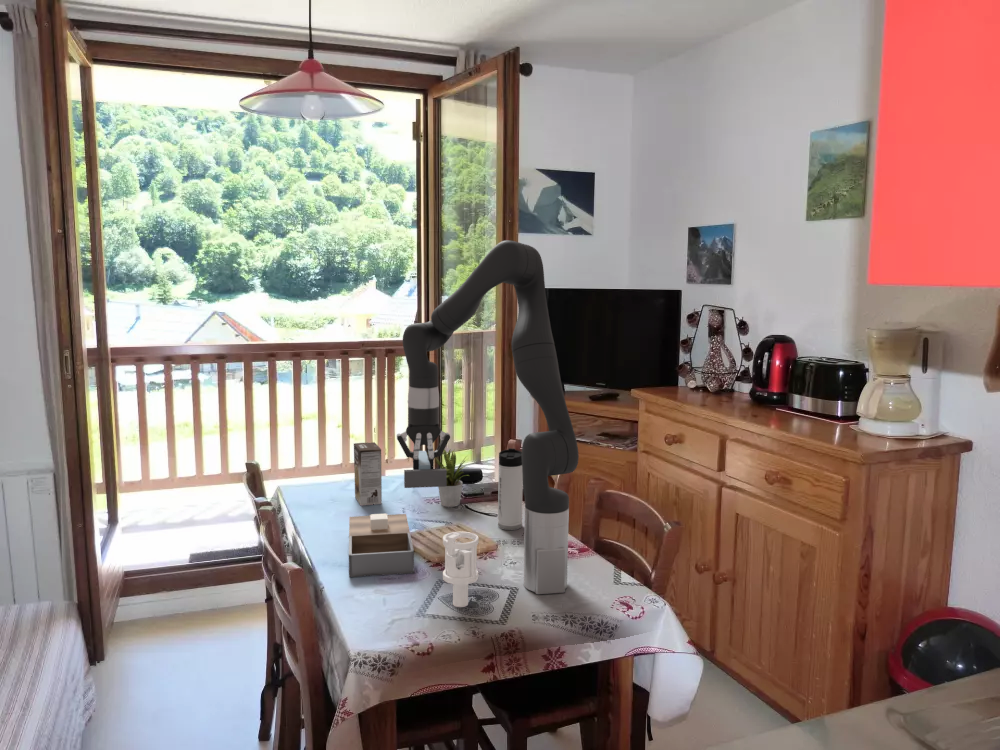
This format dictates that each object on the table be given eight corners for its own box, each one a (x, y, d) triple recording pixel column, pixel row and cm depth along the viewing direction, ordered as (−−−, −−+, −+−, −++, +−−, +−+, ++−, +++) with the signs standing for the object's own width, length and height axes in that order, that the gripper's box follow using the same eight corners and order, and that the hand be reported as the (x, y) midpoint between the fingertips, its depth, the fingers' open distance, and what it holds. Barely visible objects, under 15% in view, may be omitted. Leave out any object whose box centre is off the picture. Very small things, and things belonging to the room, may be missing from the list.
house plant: (414, 499, 222) (414, 444, 220) (458, 493, 228) (458, 439, 226) (433, 513, 210) (433, 455, 207) (479, 506, 216) (479, 450, 214)
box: (414, 573, 169) (413, 551, 168) (349, 577, 166) (348, 555, 166) (410, 553, 181) (410, 532, 180) (349, 556, 178) (349, 536, 177)
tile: (387, 528, 182) (387, 518, 182) (370, 529, 182) (370, 519, 181) (387, 523, 186) (386, 513, 186) (370, 524, 185) (370, 514, 185)
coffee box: (354, 497, 224) (353, 443, 222) (375, 495, 226) (375, 441, 224) (359, 506, 215) (358, 450, 213) (382, 504, 218) (381, 448, 215)
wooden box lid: (410, 553, 181) (410, 532, 180) (349, 556, 178) (349, 536, 177) (406, 533, 194) (406, 513, 193) (349, 536, 192) (349, 516, 191)
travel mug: (522, 522, 203) (523, 448, 200) (521, 530, 197) (522, 454, 194) (499, 521, 204) (500, 447, 201) (496, 529, 197) (497, 453, 194)
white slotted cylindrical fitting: (435, 605, 153) (435, 533, 151) (457, 593, 159) (457, 523, 157) (464, 614, 149) (464, 540, 147) (485, 601, 155) (485, 530, 153)
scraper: (446, 486, 184) (446, 466, 183) (404, 487, 183) (404, 467, 182) (440, 469, 199) (440, 450, 199) (401, 470, 198) (401, 451, 197)
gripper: (395, 407, 182) (395, 478, 185) (453, 406, 185) (453, 476, 187) (394, 401, 190) (394, 469, 192) (450, 401, 192) (449, 468, 195)
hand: (423, 472), depth 190 cm, fingers closed on scraper, 2 cm apart
